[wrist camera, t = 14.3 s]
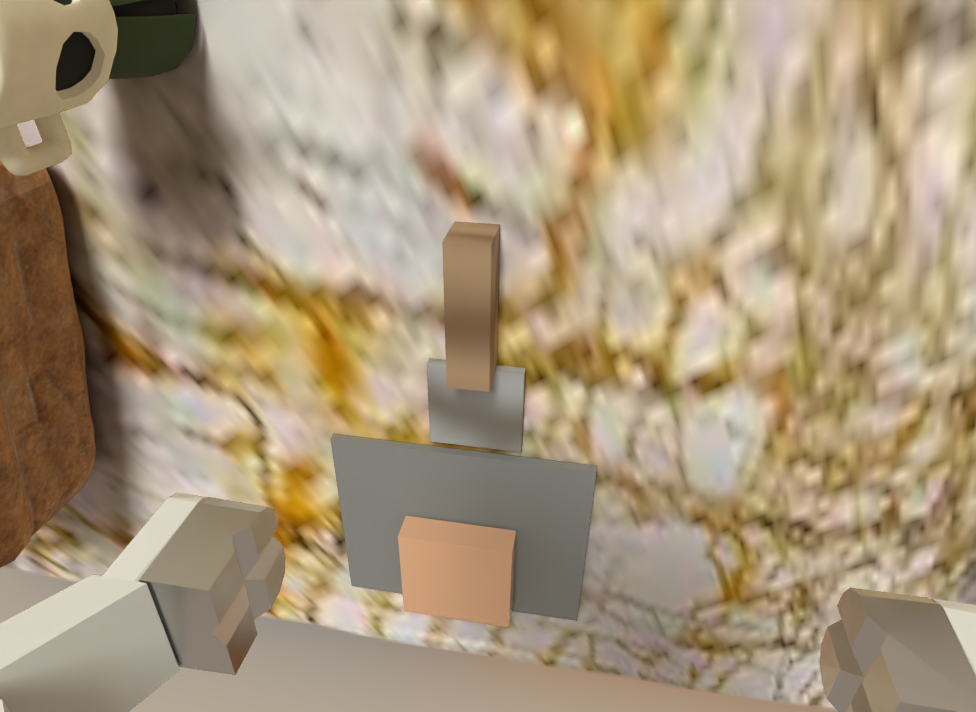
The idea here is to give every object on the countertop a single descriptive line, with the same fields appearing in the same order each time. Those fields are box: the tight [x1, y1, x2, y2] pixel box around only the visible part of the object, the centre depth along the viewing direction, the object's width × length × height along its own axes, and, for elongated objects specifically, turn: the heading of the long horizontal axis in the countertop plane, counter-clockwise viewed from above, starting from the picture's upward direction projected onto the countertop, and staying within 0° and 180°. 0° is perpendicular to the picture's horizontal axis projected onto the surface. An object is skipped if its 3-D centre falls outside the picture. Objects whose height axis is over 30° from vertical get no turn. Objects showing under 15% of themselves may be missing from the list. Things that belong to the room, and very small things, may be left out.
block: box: [398, 516, 516, 627], centre depth 48 cm, size 8×2×8 cm
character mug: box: [0, 0, 196, 176], centre depth 27 cm, size 11×7×13 cm, turn 3°
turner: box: [427, 221, 526, 452], centre depth 39 cm, size 15×6×3 cm, turn 179°
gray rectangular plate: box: [331, 434, 597, 621], centre depth 48 cm, size 18×15×1 cm
